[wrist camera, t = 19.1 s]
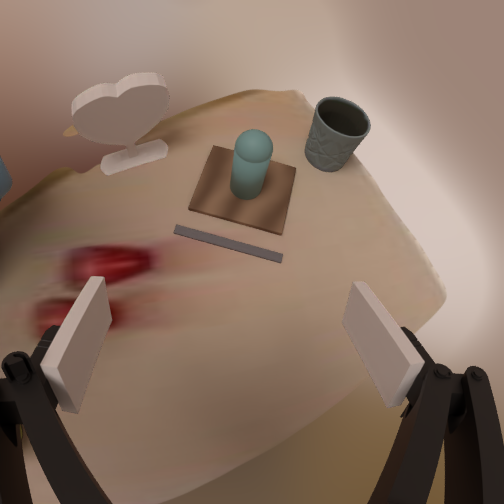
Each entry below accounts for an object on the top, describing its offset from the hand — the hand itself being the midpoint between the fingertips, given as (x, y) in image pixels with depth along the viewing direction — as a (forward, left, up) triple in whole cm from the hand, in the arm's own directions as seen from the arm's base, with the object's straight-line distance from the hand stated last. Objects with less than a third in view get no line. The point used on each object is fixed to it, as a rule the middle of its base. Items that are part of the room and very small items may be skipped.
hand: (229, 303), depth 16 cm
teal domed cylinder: (-2, +27, -31) cm, 41 cm away
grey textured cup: (+11, +40, -32) cm, 52 cm away
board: (-2, +27, -32) cm, 42 cm away
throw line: (-2, +16, -32) cm, 35 cm away
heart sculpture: (-24, +28, -32) cm, 49 cm away
